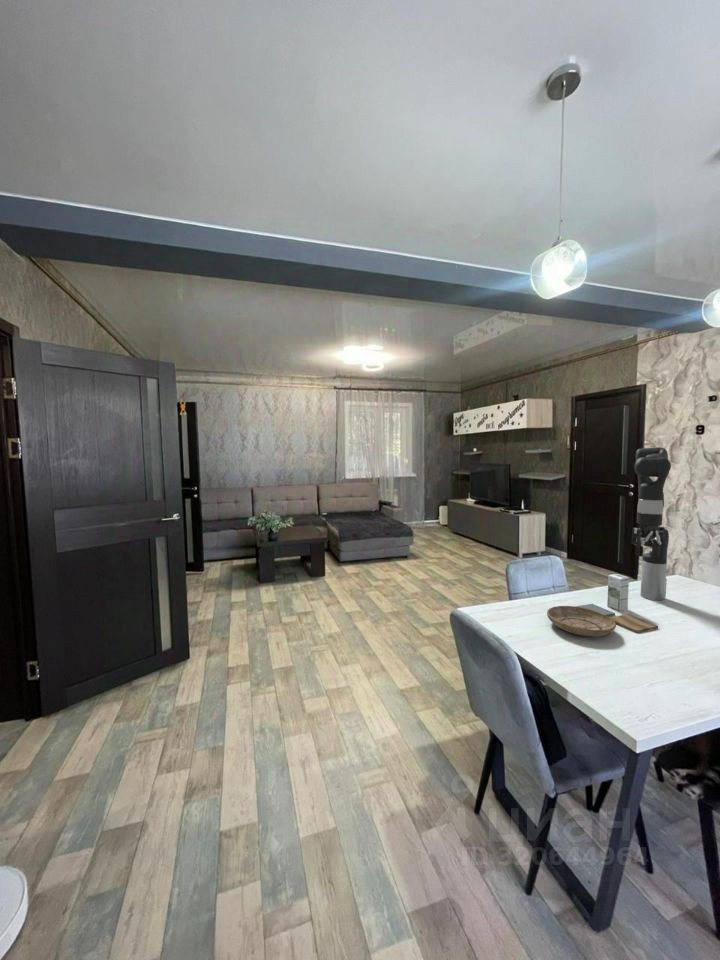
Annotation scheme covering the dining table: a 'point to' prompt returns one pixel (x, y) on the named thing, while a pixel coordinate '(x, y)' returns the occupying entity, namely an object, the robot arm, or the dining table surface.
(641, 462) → the robot arm
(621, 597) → the syrup box
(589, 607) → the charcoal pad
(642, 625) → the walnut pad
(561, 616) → the ceramic bowl
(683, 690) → the dining table surface
